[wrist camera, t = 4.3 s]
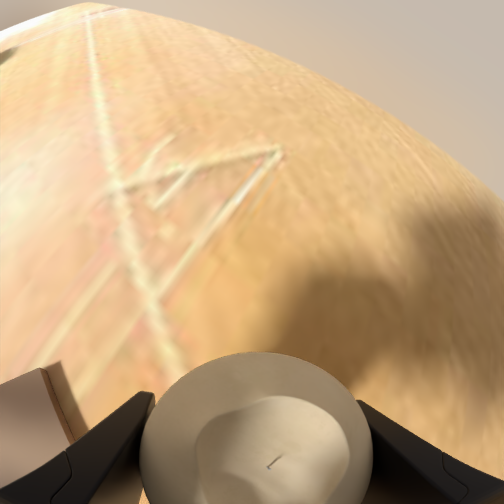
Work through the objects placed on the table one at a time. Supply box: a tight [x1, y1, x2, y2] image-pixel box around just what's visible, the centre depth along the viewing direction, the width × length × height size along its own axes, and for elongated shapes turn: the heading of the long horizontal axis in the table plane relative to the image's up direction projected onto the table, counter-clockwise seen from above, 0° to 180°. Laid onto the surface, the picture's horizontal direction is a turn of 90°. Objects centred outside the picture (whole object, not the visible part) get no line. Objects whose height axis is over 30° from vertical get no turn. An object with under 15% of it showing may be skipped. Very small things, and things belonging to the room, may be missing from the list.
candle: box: [139, 352, 373, 504], centre depth 9 cm, size 6×6×10 cm
